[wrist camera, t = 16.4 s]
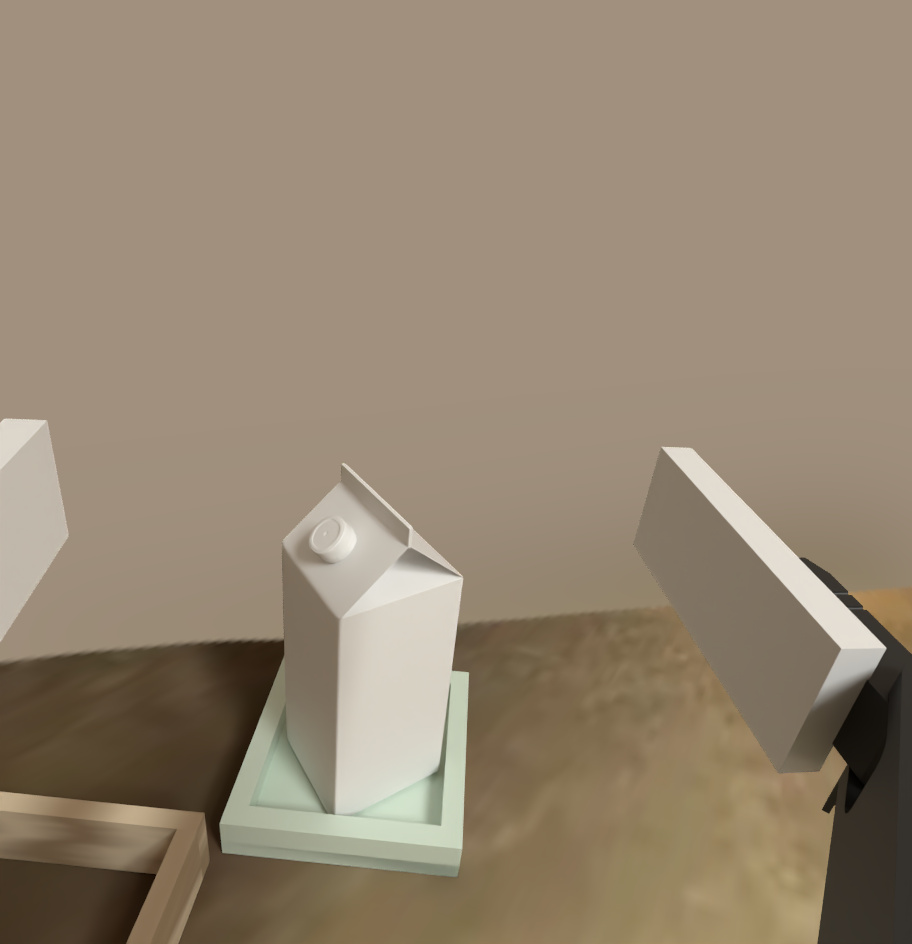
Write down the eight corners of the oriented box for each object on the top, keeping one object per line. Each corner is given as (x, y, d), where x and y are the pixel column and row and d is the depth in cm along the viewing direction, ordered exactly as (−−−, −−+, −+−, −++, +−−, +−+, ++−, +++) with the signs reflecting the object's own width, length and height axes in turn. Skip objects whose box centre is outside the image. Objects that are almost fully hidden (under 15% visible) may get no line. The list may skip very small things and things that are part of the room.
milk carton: (383, 696, 47) (400, 451, 38) (439, 773, 42) (473, 511, 33) (285, 738, 43) (278, 475, 34) (334, 828, 38) (340, 547, 29)
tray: (222, 852, 37) (219, 823, 36) (285, 679, 48) (285, 653, 47) (457, 877, 37) (462, 848, 36) (465, 698, 49) (468, 672, 47)
